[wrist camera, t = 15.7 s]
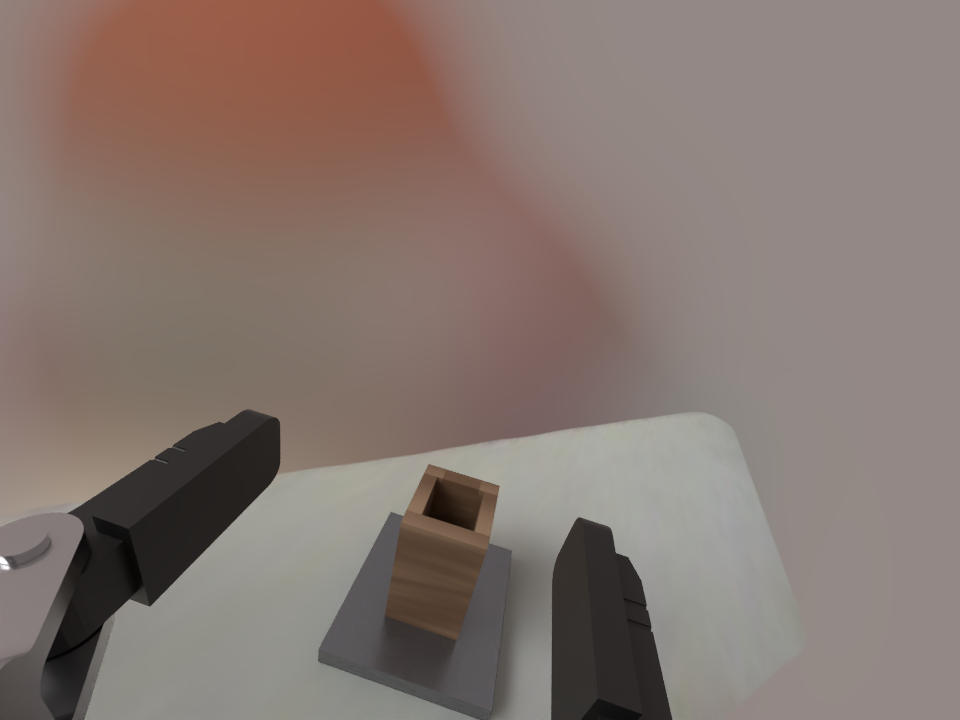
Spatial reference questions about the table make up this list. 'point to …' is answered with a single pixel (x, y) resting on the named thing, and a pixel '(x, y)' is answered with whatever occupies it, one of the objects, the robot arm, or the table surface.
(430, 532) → the sleeve
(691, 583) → the table surface
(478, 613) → the base plate
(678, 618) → the table surface
